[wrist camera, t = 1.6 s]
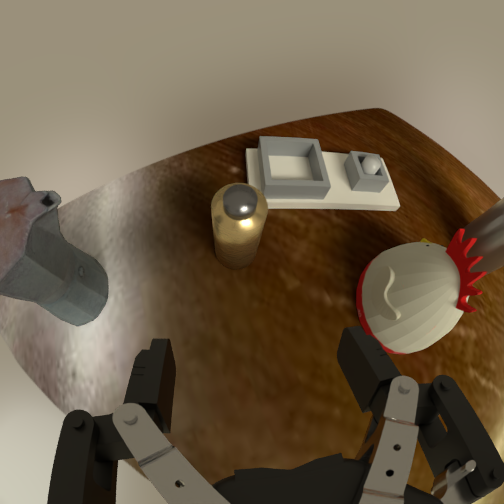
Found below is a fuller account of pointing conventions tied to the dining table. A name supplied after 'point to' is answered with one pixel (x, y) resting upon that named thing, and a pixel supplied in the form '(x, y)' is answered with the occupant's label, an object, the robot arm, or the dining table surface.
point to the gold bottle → (238, 223)
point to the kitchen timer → (416, 293)
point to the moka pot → (45, 257)
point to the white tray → (318, 176)
